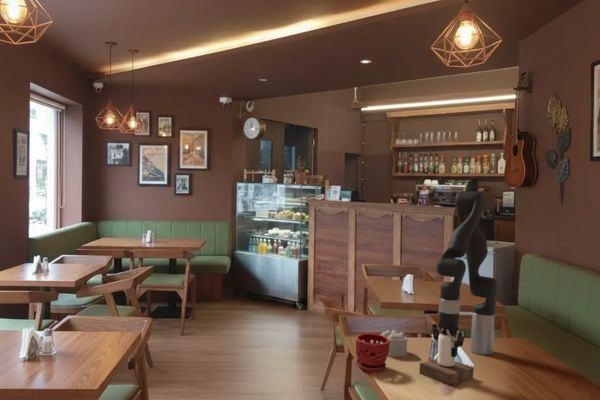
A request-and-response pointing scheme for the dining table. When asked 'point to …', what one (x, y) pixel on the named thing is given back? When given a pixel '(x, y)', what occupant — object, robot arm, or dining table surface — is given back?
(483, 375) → the dining table surface
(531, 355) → the dining table surface
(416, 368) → the dining table surface
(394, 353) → the lumpy-topped squat cylinder
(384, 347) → the plant pot
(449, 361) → the can
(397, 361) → the dining table surface
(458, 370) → the walnut stand
